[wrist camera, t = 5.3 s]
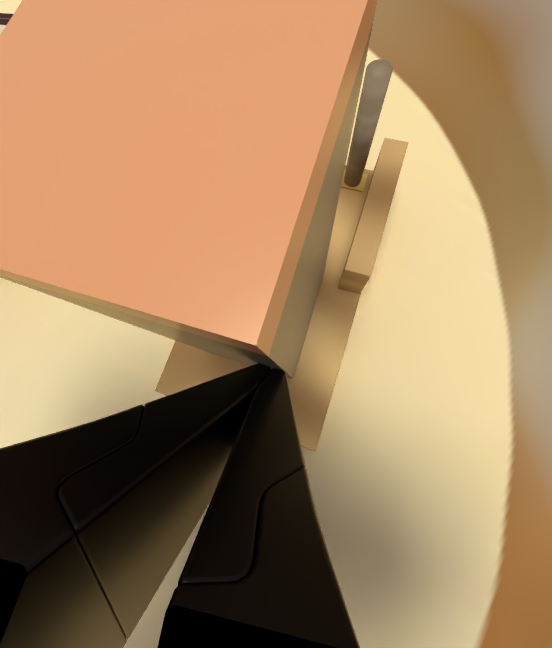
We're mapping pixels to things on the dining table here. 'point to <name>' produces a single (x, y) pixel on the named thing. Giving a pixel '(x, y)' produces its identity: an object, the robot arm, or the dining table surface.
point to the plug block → (180, 161)
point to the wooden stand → (325, 273)
